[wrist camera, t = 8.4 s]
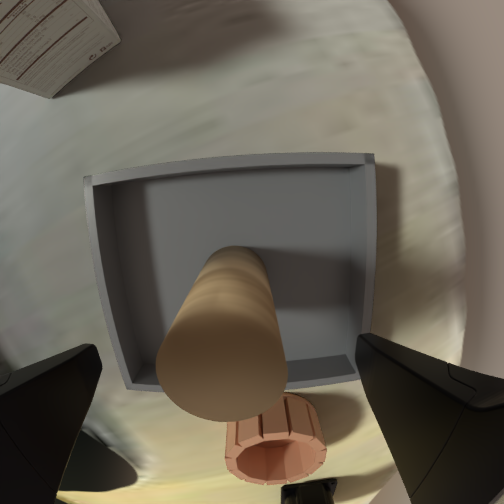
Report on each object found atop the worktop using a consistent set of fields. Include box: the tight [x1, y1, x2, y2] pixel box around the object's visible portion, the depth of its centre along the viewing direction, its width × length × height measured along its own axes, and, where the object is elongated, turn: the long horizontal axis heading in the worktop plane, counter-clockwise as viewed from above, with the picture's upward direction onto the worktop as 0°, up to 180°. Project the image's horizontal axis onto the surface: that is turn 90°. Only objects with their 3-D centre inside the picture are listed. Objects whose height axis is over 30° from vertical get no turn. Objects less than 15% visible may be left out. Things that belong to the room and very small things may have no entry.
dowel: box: [156, 246, 288, 422], centre depth 13 cm, size 4×4×10 cm
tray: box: [83, 152, 377, 392], centre depth 17 cm, size 14×16×4 cm
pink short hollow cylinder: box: [225, 392, 327, 485], centre depth 20 cm, size 8×8×4 cm
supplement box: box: [0, 0, 121, 99], centre depth 9 cm, size 7×7×13 cm
